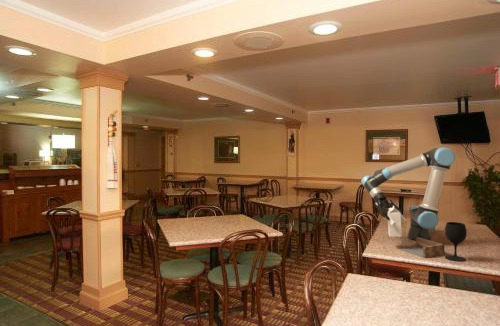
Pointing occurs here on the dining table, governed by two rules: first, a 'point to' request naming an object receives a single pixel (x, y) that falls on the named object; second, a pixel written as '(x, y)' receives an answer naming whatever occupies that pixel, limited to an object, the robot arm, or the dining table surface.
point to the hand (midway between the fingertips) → (399, 222)
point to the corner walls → (430, 247)
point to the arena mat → (414, 250)
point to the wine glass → (455, 238)
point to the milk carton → (396, 227)
